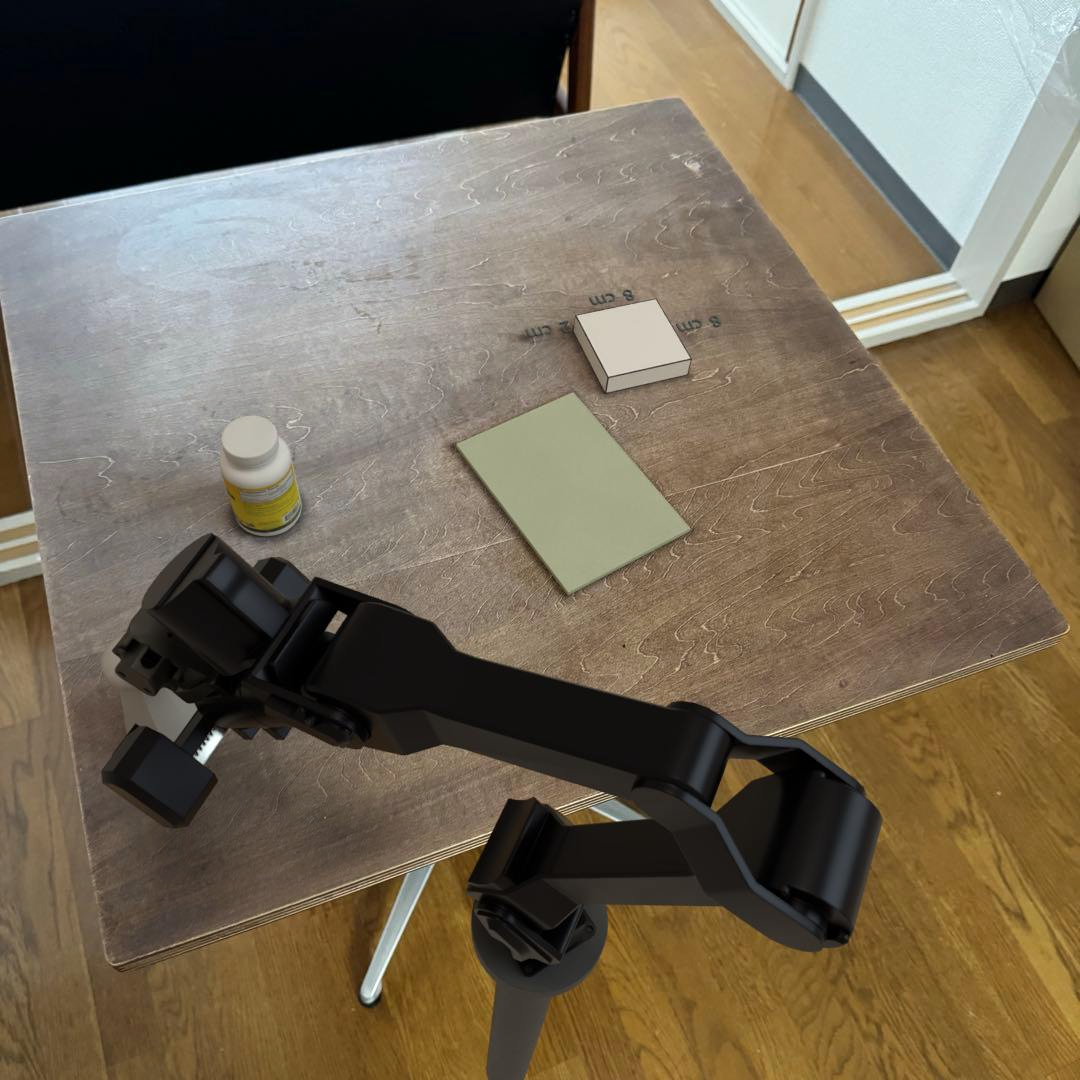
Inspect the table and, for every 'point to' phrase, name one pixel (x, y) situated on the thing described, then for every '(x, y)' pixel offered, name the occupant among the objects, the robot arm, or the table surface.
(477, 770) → the table surface
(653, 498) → the placemat
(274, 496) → the pill bottle
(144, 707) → the salt shaker
